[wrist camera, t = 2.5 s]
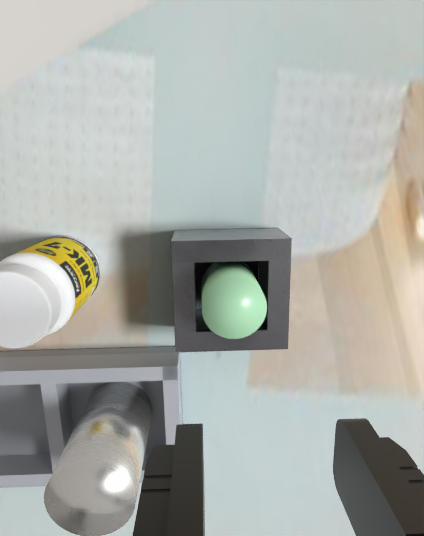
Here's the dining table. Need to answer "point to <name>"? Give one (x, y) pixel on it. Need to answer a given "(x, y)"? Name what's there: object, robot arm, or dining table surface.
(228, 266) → the button
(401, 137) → the dining table surface
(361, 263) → the dining table surface
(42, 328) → the supplement bottle
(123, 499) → the seated billet
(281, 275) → the button housing
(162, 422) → the tray
